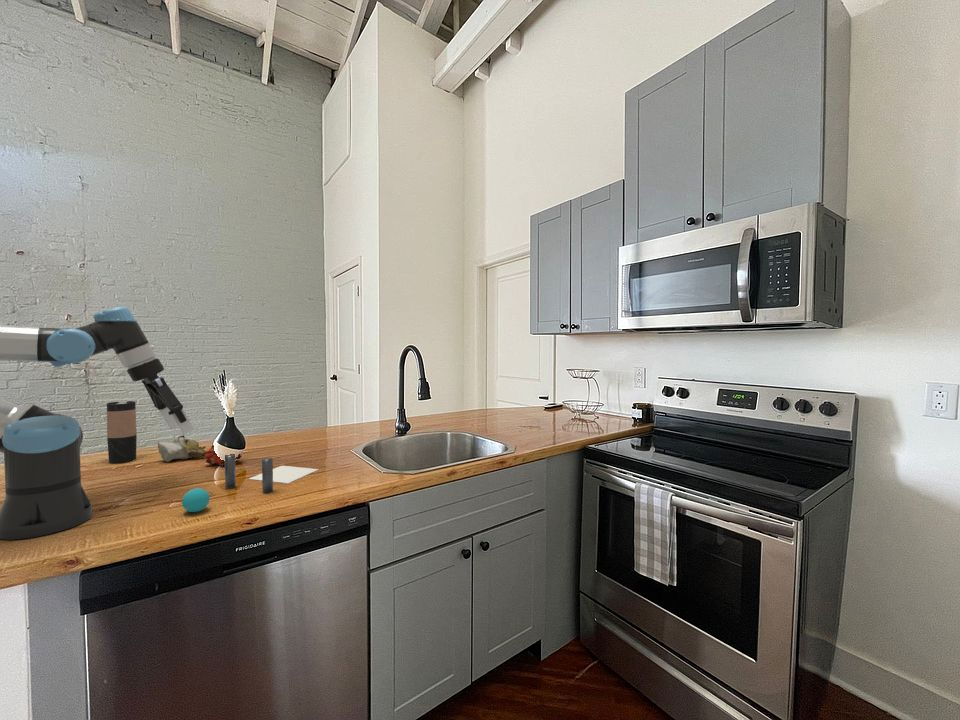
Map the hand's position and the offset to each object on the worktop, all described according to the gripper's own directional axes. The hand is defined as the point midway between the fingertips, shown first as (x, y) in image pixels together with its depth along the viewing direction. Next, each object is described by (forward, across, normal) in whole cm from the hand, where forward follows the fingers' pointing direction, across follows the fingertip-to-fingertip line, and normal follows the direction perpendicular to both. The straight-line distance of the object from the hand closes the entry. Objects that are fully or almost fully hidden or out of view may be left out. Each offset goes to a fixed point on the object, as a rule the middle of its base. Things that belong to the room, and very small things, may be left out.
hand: (182, 429), depth 121 cm
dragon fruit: (+20, +14, -6) cm, 25 cm away
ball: (+11, -26, +9) cm, 29 cm away
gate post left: (+18, -13, -1) cm, 22 cm away
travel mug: (+10, +43, +13) cm, 46 cm away
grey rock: (+16, +31, -1) cm, 35 cm away
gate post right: (+21, -24, -6) cm, 32 cm away
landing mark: (+24, -12, -15) cm, 31 cm away
